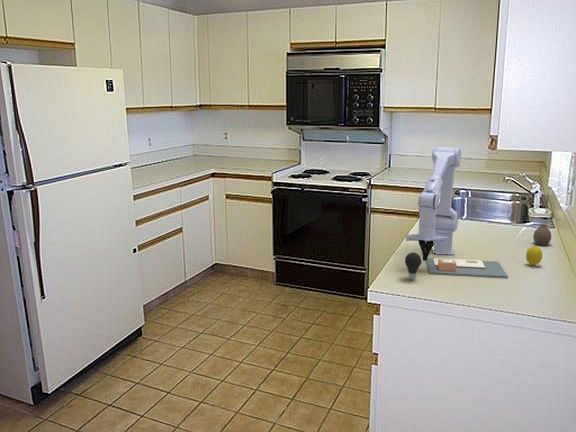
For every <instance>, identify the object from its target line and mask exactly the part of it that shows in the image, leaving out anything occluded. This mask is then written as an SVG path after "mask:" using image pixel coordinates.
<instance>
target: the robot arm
mask: <svg viewBox="0 0 576 432" xmlns="http://www.w3.org/2000/svg"><path fill="white" fill-rule="evenodd" d="M461 159H462V150H461V148H460V147H458V146H457V147H450V146H438V145H437V146H435V147H434V148H433V150H432V153H431V160H432V162H433V164H434V166H433V170H432V174H431V176H429V177H428V178H427V180H426V183H425V186H424V189H423V191H422V192H420V193H419V194H418V198H417V199H418V200H417V206H418V212H419V219H418V233H416V234H406V235H405V241H406V242H409V241H412V242H414V241H416V242H418V245H419V247H420V250H421V254H422V261H424V262H425V261H427V258H429V255H430V253H431V251H432V247H433V246H434V250H433V251H432V254H433V253H436V254H435V255H446V254H448V255H454V251H453V248H452V247H453V238H454V237H453V235H454V233H455V232H456V231H457V230H458V227H459V217H458V216H459V214H458V212H457V211H456V210H455V209H454V208H452V203H453V190H454V178H455V170H456V169H458V168H460V165H461ZM448 255H447V256H448Z"/></svg>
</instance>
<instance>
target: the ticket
mask: <svg viewBox="0 0 576 432" xmlns="http://www.w3.org/2000/svg"><path fill="white" fill-rule="evenodd" d="M438 259H442V258H438V257H436V258H435V257H433V261H434V265H435V266H436V267H438ZM445 259H446V260H455V261H456V263H457V264H456V268H475V269H485V266H484V264H483V262H482V261H483V260H482V259H481V260H480V259H479V260H478V259H462V258H461V259H460V258H459V259H458V258H445Z"/></svg>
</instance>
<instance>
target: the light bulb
mask: <svg viewBox="0 0 576 432" xmlns="http://www.w3.org/2000/svg"><path fill="white" fill-rule="evenodd" d="M404 263H405V266H406V267H407V270H408V279H410V280H411V279H414V280H416V278H417V273H418V270H419V268H420V266H421V264H422V257H421V256H420V254H418V253H417V252H409V253H407V255H406V256H405V258H404Z"/></svg>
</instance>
